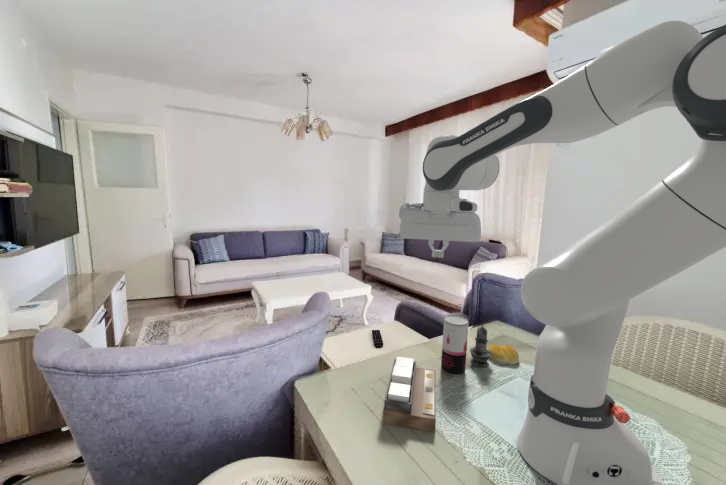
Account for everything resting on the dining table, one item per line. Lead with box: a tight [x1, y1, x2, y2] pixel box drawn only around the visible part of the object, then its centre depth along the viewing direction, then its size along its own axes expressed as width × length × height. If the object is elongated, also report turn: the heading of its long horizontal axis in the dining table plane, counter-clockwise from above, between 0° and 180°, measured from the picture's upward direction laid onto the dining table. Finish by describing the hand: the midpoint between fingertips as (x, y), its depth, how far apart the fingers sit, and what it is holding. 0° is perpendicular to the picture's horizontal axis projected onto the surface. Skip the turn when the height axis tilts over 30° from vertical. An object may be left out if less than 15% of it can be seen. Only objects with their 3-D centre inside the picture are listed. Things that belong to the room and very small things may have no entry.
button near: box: [388, 382, 410, 403], centre depth 69 cm, size 4×4×2 cm
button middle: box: [392, 365, 412, 386], centre depth 75 cm, size 4×4×2 cm
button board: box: [382, 358, 437, 433], centre depth 75 cm, size 11×19×5 cm, turn 167°
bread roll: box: [487, 344, 520, 366], centre depth 95 cm, size 8×9×4 cm
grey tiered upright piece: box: [469, 324, 491, 369], centre depth 91 cm, size 6×6×12 cm
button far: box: [395, 356, 415, 372], centre depth 81 cm, size 4×4×2 cm
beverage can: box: [440, 315, 469, 377], centre depth 87 cm, size 6×7×15 cm
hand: (437, 257), depth 81 cm, fingers closed
